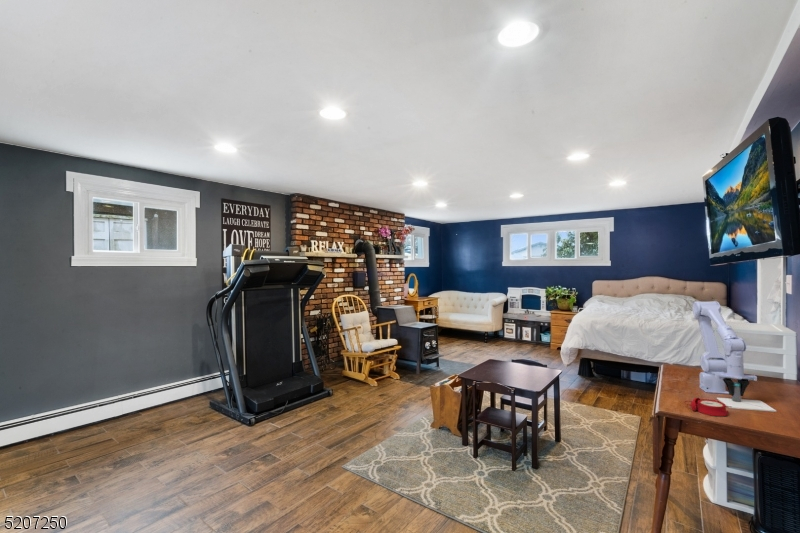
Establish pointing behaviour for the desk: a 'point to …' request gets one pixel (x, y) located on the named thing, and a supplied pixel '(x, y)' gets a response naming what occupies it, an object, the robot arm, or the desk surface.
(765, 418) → the desk surface
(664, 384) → the desk surface
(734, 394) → the marker
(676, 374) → the desk surface
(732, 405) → the notepad
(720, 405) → the alarm clock
